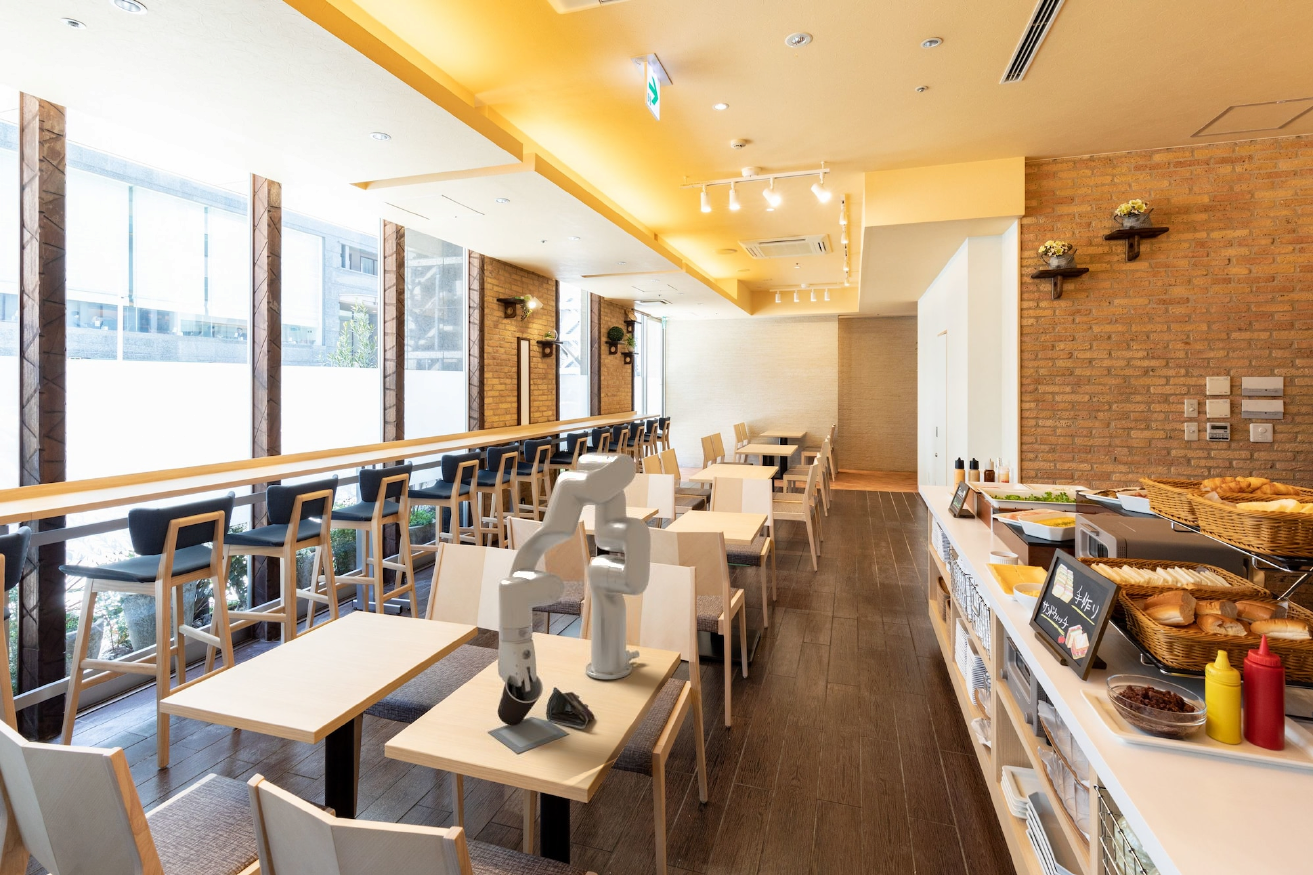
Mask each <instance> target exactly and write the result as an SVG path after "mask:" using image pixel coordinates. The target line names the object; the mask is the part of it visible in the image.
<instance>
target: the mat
mask: <svg viewBox="0 0 1313 875" xmlns="http://www.w3.org/2000/svg"><path fill="white" fill-rule="evenodd" d="M487 734H488V735H491V737H493V738H494V739H496V740H497V741H499V742H501V743H502V744H503V745H504V746H506V747H507V748H508V749H510V751H512V752H514V753H516V754H517V755H519V754H521V753H524V752H527V751H529V750H532V749H534V748H538V747H541V746H542V745H545V744H548V743H550V742H553V741H556V740H558V739H561V738H563V737H566V736H568V735H570V733H569V732H567V731H566V730H564V729H562V728H561V727H559V726H558V725H557V724H554V723H552V722H549V721H548V720H546V719H543V718H538V717H533V716H530V717H527V718H526V717H525V718H524V719H523V720H522V722H520V723H519V724H517V725H508V724H505V725H503V726H500V727H497V728H495V729H492V730H489V731H487Z"/></svg>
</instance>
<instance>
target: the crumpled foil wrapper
mask: <svg viewBox="0 0 1313 875" xmlns="http://www.w3.org/2000/svg"><path fill="white" fill-rule="evenodd" d="M566 711H568V712H566ZM545 715H546V719H547V721H549V722H551V723H553V724H554V723H555V725H562V726H567V727H572V728H576V729H581V730H582V729H585V728H586V726H587V724H588V721H591V720H595V714H594V713H593V712H592V710H590V709H589V704H587V703H583V701H582V700H581V699H580V695H578V694H575V693H574V692H573V691H570V692H569V691H568V692H563V691H561V690H559V689H558V688H557V687H553V689H552V693H551V695H550V697H549V698H548V700H547V704H546V710H545Z"/></svg>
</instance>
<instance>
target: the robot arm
mask: <svg viewBox="0 0 1313 875" xmlns="http://www.w3.org/2000/svg"><path fill="white" fill-rule="evenodd" d="M576 467H577V469H575V470H573V469H572V470H567V471H563V472H561V473H560V474H559V475H558V476H557V478H556V481H555V483H554V486H553V489H552V492H551V496H550V498H549V502H548V505H547V507H546V511H545V512H544V517H543V520H542V522H541V525H540V526H539V527H538V528H537V529H536V530H535V531H534V532H533V533H532V534H531V535H530V536H529V537H528V538H527V539H526V540H525V541H524V543H523V544H522V545H521V547H520V548H519V549H518V551H516V554H515V557H514V560H513V562H512V565H511V568H510V572H509V575H508V577H506V578H504V579H502V580H501V581H500V582H499V584H498V641H499V642H498V652H497V655H498V656H497V671H498V672H497V674H498V676H499V677H500V678H501V680H502V681H503V683H505V682H506V679H507V677H508V675H509V680H508V682H509V683H510V684H509V685H508V688H507V689H508V691H509V693H510V694H511V695H512V696H513V697H514V698H516V699H518V700H520V701H524V694H525V693H526V692H529V691H530V682H532V683H534V682H536V675H537V660H536V659H537V658H536V650H535V644H534V640H533V608H534V607H535V608H536V607H544V606H550V605H553V604H555V603H557V602H558V601H559V600H560V599H562V597H563V595H564V592H565V584H564V581H563V579H562V578H561V577H560V576H558V575H557V574H555V573H551V572H547V571H542V570H537V569H536V567H537V566H538V563H539V562H540V559H541V558H542V557H543V555H544V554H545V553H547V551H549V550H550V549H552V548H553V547H555V546H558V545H560V544H562V543H565V542H566V541H569V540H571V539H572V538H573V537H574V536H575V534H576V531H577V529H578V525H579V521H580V518H581V516H582V511H583V508H584V507H585V506H584V505H588V506H594V533H593V534H594V536H593V537H594V542H595V545H596V546H597V547H598V548H599V549H601V550H604V551H609V552H618V553H623V554H624V556H619V555H614V554H613V555H612V554H600V555H598V556H597V555H596V556H595V557H593V559H592V560H591V561H590V562H589V564H588V565H587V572H586V573H587V582H588V587H589V591H590V592H589V593H590V606H591V608H590V610H591V611H590V615H591V616H590V618H591V619H590V624H591V625H590V627H591V629H590V638H591V639H590V640H591V641H590V644H591V645H590V649H591V650H590V658H591V660H590V662H588V664H587V665H586V666H585V673H586V674H587V676H588V677H590V678H593V679H598V680H616V679H621V678H623V677H627V676H628V675H630V674H631V673H632V672H633V671H632V670H633V668H632V667H633V666H632V664H631V663H630V662H631V660H635V659H637V658H639V657H640V652H639V651H638V650H633V651H631V652H630V650H627V604H626V600H625V597H624V595H628V596H639V595H642V594H643V593H644V592H645V591H646V590H647V588H648V586H649V581H650V574H651V573H650V572H651V546H652V545H651V543H652V542H651V541H652V538H651V531H650V528H649V526H648V525H647V523H646V522H645V521H644V520H643V519H641V518H639V517H633V516H632V517H630V516H628V515H627V498H626V494H625V491H624V489H625V488H627V487H628V486H630V484H631V483H632V482H633V481H634V479H635V477H636V474H637V465H636V462H635V460H634V458H633V457H632V456H630V455H628V454H626V453H620V452H618V453H617V452H616V453H615V452H614V453H613V452H587V453H583V454H582V455H580V456H579V458H578V459H577V463H576ZM529 681H530V682H529ZM511 684H513V685H511Z"/></svg>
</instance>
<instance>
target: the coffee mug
mask: <svg viewBox="0 0 1313 875" xmlns="http://www.w3.org/2000/svg"><path fill="white" fill-rule="evenodd" d="M508 680H509V675H508V677H507V679H506V682H504V686H503V690H502V694H501V697H500V700H499V705H498V708H497V716H498V718H499V720H500V721H501V722H502V723H503V724H505V725H517V724H519V723H520V722H522V720H523V719H526V716H527V715H528V714H529V712H530V711H531V710H532V708H533V707H534V705H535V704H536V702H537V701H538V700H539V699H540V698H541V696H542V693H543V690H544V686H543V682H542V680H541V679H540V677H539V676H538V675H537V674H536V682H534V683H532V682H530V681H529V682H530V691H529V692H526V693H525V694H524V701H520V700H518V699H516V698H514V697H513V696H512V695H511V694H510V693H509V691H508V689H507V688H508V685H509V684H510V683H509V682H508ZM511 685H513V684H511Z"/></svg>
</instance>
